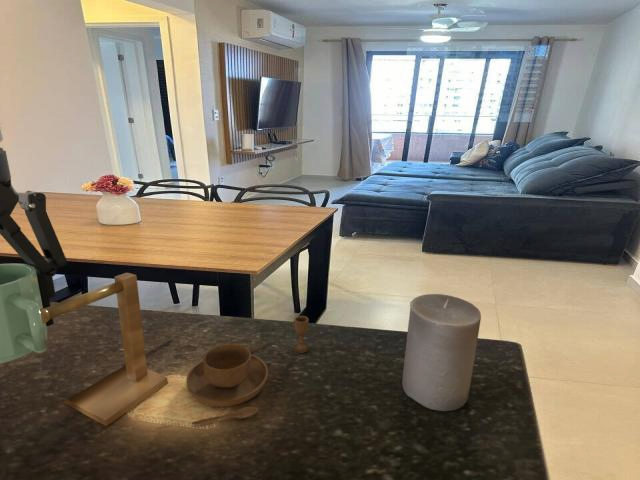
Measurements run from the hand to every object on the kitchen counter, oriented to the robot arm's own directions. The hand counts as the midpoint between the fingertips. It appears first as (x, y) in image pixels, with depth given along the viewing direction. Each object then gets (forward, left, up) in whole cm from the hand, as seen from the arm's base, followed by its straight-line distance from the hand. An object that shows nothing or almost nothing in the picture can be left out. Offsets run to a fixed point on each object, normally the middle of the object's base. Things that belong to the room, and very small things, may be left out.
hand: (2, 339), depth 46 cm
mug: (+2, 0, -1) cm, 3 cm away
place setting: (+21, +22, -12) cm, 33 cm away
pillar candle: (+46, +33, -12) cm, 58 cm away
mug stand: (+4, +8, -12) cm, 15 cm away
